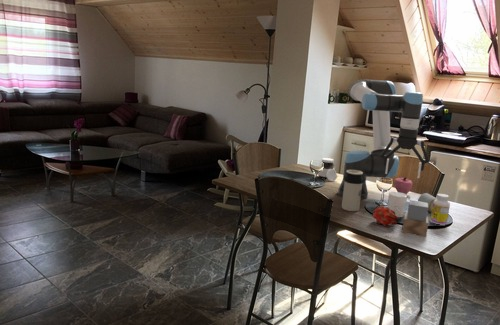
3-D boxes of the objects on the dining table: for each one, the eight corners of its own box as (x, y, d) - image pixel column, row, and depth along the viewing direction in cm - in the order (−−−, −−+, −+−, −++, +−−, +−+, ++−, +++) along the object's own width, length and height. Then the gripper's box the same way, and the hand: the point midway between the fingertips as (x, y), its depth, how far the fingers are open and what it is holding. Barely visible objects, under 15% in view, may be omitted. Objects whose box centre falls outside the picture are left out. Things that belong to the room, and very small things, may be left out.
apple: (414, 195, 224) (417, 177, 222) (404, 197, 219) (407, 179, 217) (399, 191, 231) (401, 173, 229) (389, 192, 227) (391, 175, 224)
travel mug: (338, 208, 195) (342, 170, 191) (347, 205, 200) (351, 168, 196) (353, 213, 189) (357, 174, 185) (362, 209, 195) (366, 172, 191)
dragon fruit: (370, 222, 183) (395, 235, 175) (364, 215, 177) (389, 228, 169) (381, 206, 184) (405, 218, 176) (375, 198, 178) (400, 210, 170)
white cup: (385, 216, 188) (388, 195, 186) (386, 211, 195) (389, 190, 193) (404, 219, 185) (407, 197, 183) (404, 214, 192) (407, 193, 190)
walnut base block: (402, 232, 169) (404, 218, 168) (402, 225, 177) (404, 212, 176) (426, 237, 166) (428, 223, 165) (425, 229, 174) (427, 216, 173)
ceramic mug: (428, 213, 195) (431, 198, 193) (416, 208, 202) (418, 193, 201) (445, 212, 199) (448, 197, 197) (433, 207, 206) (435, 192, 205)
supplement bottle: (427, 219, 186) (432, 192, 184) (442, 221, 186) (447, 193, 184) (433, 225, 180) (438, 196, 177) (449, 226, 180) (454, 197, 177)
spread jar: (323, 175, 256) (325, 156, 254) (340, 179, 250) (342, 160, 248) (314, 178, 247) (316, 159, 244) (332, 182, 240) (334, 163, 238)
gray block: (407, 218, 168) (409, 204, 167) (407, 213, 175) (409, 199, 174) (425, 221, 166) (428, 207, 165) (425, 216, 172) (427, 202, 171)
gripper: (378, 126, 182) (372, 173, 187) (440, 132, 174) (432, 181, 179) (379, 124, 189) (373, 169, 193) (439, 130, 181) (431, 177, 186)
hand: (402, 175), depth 186 cm, fingers open, 13 cm apart
